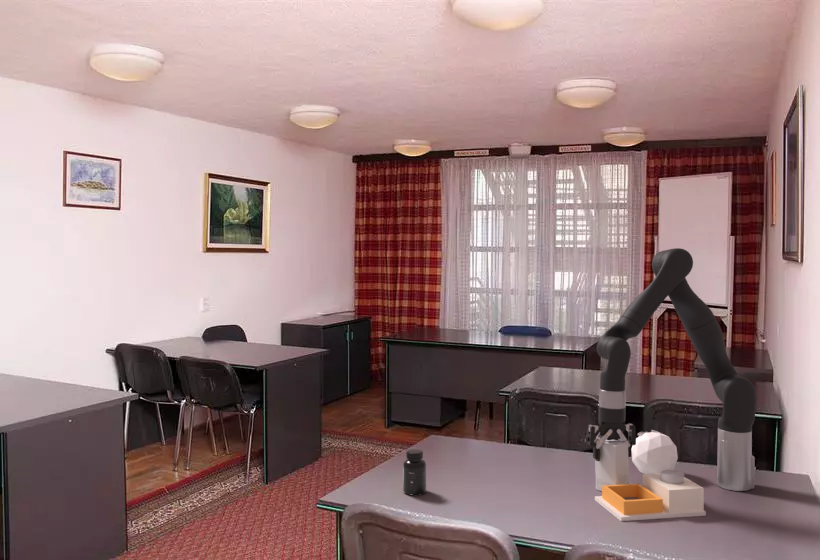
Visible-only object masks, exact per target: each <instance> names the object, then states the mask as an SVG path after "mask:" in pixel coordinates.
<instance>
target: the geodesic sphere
mask: <svg viewBox="0 0 820 560" xmlns="http://www.w3.org/2000/svg"><path fill="white" fill-rule="evenodd" d="M637 436H638V437H637ZM677 448H678V447H677V445H676V444H675V443H674V441H672V439H671V438H670V436H668V435H666V434H663V433H662V432H659V431H658V430H654V429H651V431H650V432H648V431H645V432H644V431H640V432H638V433H637V435H636V445H632V446H631V449H630V450H631V462H632V464H633V465H634V466H635V467H636V469H637V470H638V471H639V472H640V473H642V474H650V473H661V472H662V471H665V470H673V471H675V467H676V465H677V462H678V457H679V456H678V450H677Z"/></svg>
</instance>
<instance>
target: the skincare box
mask: <svg viewBox="0 0 820 560" xmlns="http://www.w3.org/2000/svg"><path fill="white" fill-rule="evenodd" d="M599 449H600V461H596V460H595V459H594V464H595V465H594V469H595V470H594V471H595V472H594V473H595V490H596V491H599V492H602V486H604V485H621V484H630V466H629V458H628V443H627V442H622V441H620V440H619V439H618V440H606V441H605V442H604V443H602V445H601V446H600V448H599Z"/></svg>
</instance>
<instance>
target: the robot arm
mask: <svg viewBox="0 0 820 560" xmlns="http://www.w3.org/2000/svg"><path fill="white" fill-rule="evenodd" d="M693 267H694V260H693V257H692V254H691V253H690V252H689V251H688V250H686V249H684V248H681V247H677V248H670V249H665V250H660V251H659V252H657V253H655V255H654V256H653V258H652V260H651V268H652V271H653V274H654V275H655V276H654V277H655V278H653V280H652V282H651V283H650V284H648V285H647V287H646V288H645V289H644V290H643V291H642V292H640V294H638V295H637V296H636V297H635V298H634V299H633V300H632V301H631V302H630V304H628V306H627V307H626V309H625V310H624V311H623V313H622V314H621V316H620V317H619V319H618V320H617V321H616V322H615V323H614V324H612V325H611V327H610V328H608V329H607V330H606V331H605V332H604V333H603V334H602V335H601V337H599V340H598V341H597V344H596V352H597V354H598V356H599V357H600V358H601V359H604V360H606V361H607V365H606V368H604V369H602V370H601V372H600V375H599V377H600V378H599V379H600V383H599V394H598V424H597V425H593V424H588V425H587V431H586V433H587V434H586V444H587V445H588V446H590V447H592V458H593V459H594V461H595V460H596V461H600V449H599V448H600V446H601V445H602V443H604V442H605V441H606V440H618V441H622V442H627V443H628V459H630V458H629V457H630V447H632V446H633V445H636V438H637V435H636V432H637V431H636V425H635V424H633V423H631V422H628V423H627V424H626V423H625V422H626V408H627V407H626V406H627V405H626V404H627V401H626V398H627V397H626V375H627V372H628V369H629V365H630V360H631V357H632V356H631V355H632V353H631V347H630V344H629V342H628V340H629V339H632V338H635V337H638V336H639V335H640V333H641V332H642V331H643V329H644V328H645V326H646V325H647V323H648V322H649V321H650V319H651V318H652V316H653V315H654V313H655V312H656V311H657V310H658V308H659V307H660V306H661V304H662V303H663V302H664V301H665V300H666V298H669V299H670V301H671V303H672V306H673V307H674V310H675V311H676V314H677V315H678V318H679V319H680V321H681V325H683V328H684V330H685V332H686V334H687V336H688V338H689V340H690V342H691V343H692V346H693V348H694V349H695V351H696V352H697V354H698V356H699V358H700V360H701V361H702V363H703V365H704V367H705V369H706V371H707V374H708V377H709V380H710V383H711V385H712V387H713V391H714V394H715V395H716V397H717V398H718V399H719V400H720V401H721V402H722V404H723V405H722V415H721V416H720V417H719V418H718V421H717V461H716V462H717V466H716V467H717V468H716V470H717V471H716V484H717V486H718V487H720V488H722V489H725V490H729V491H735V492H736V491H737V492H744V491H745V492H747V491H749V490H752V489H755V467H756V466H755V460H756V458H755V456H754V455H753V454H752V453H753V452H752V447H753V444H752V443H753V439H752V435H753V434H752V433H753V425H754V422H755V420H756V407H757V405H756V404H757V393H756V387H755V385H754V384H753V382H751V381H750V380H749V379H747V378H745V377H743V376H740V375H739V373H738V372H737V370H736V369H735V368H734V366H733V363H732V362H731V361H730V358H729V355H728V354H727V349H726V343H725V337H724V333H723V331H722V328H721V326H720V324H719V322H718V320H717V318H716V316H715V314H714V312H713V311H712V309H710V307H709V305H708V304H706V303H705V302H704V300H702V299H701V298H700V297H699V296H698V295H697V294H696V293H695V292H694V290H693V289H692V288H691V286H690V284H689V283H688V279H687V278H686V277H687V276H688V275H690V273H691V271H692V269H693ZM625 431H627V437H626V436H625V434H624V433H625ZM597 432H598V434H597V435H596V433H597ZM595 435H596V436H595Z"/></svg>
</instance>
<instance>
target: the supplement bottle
mask: <svg viewBox="0 0 820 560" xmlns="http://www.w3.org/2000/svg"><path fill="white" fill-rule="evenodd" d="M405 452H406V455H405V456H406V457H405V458H406V459H405V460H404V461H403V463H402V491H404V492H405V493H407V494H413V495H417V496H420V495H419V494H422V495H424V494H425V493H427V462H426V461H425V460H424V459H423V458H424V450H421V449H417V448H413V449H408V450H406V451H405ZM404 492H403V493H404ZM405 493H404V494H405ZM423 493H424V494H423ZM407 494H406V495H407Z"/></svg>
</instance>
